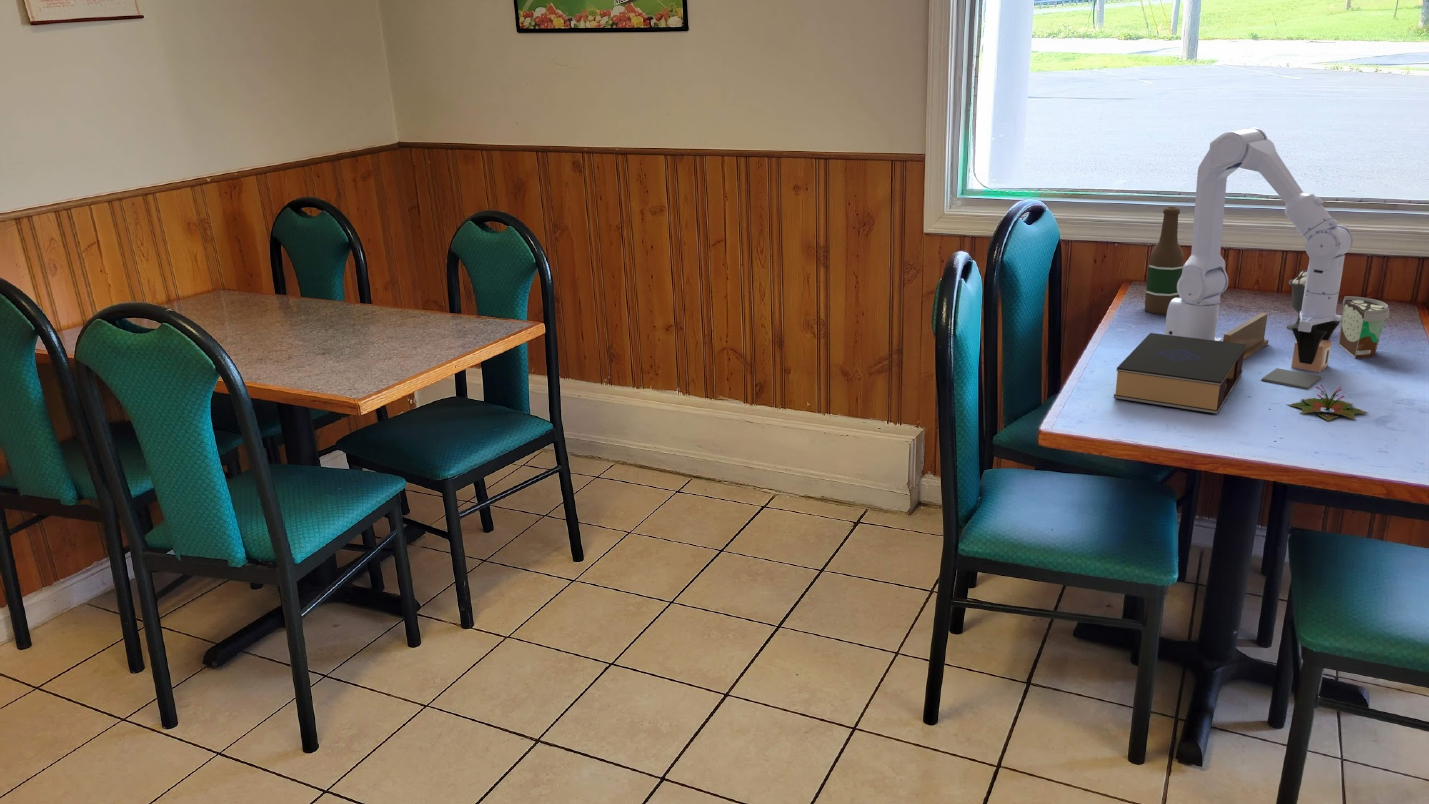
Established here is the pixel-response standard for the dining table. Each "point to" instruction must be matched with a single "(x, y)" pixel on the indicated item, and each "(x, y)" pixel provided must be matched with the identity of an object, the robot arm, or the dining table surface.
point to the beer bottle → (1164, 266)
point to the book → (1180, 372)
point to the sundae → (1298, 294)
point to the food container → (1362, 325)
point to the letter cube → (1319, 360)
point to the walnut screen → (1249, 334)
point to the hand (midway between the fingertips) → (1310, 359)
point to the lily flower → (1328, 406)
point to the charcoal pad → (1291, 378)
